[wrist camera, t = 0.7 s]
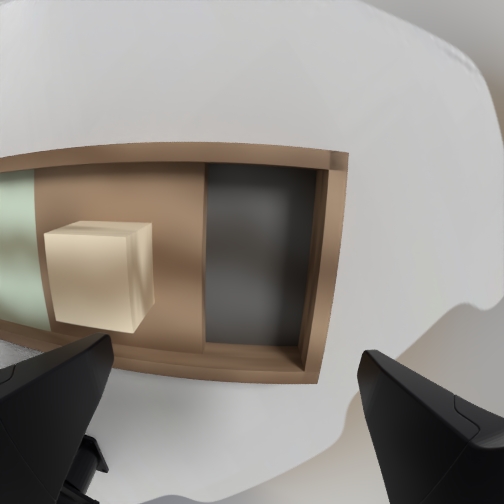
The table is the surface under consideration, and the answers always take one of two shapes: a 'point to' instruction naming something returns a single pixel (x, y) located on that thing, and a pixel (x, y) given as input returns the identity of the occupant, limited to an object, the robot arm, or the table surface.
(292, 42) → the table surface
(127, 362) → the tray
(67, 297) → the beech block
